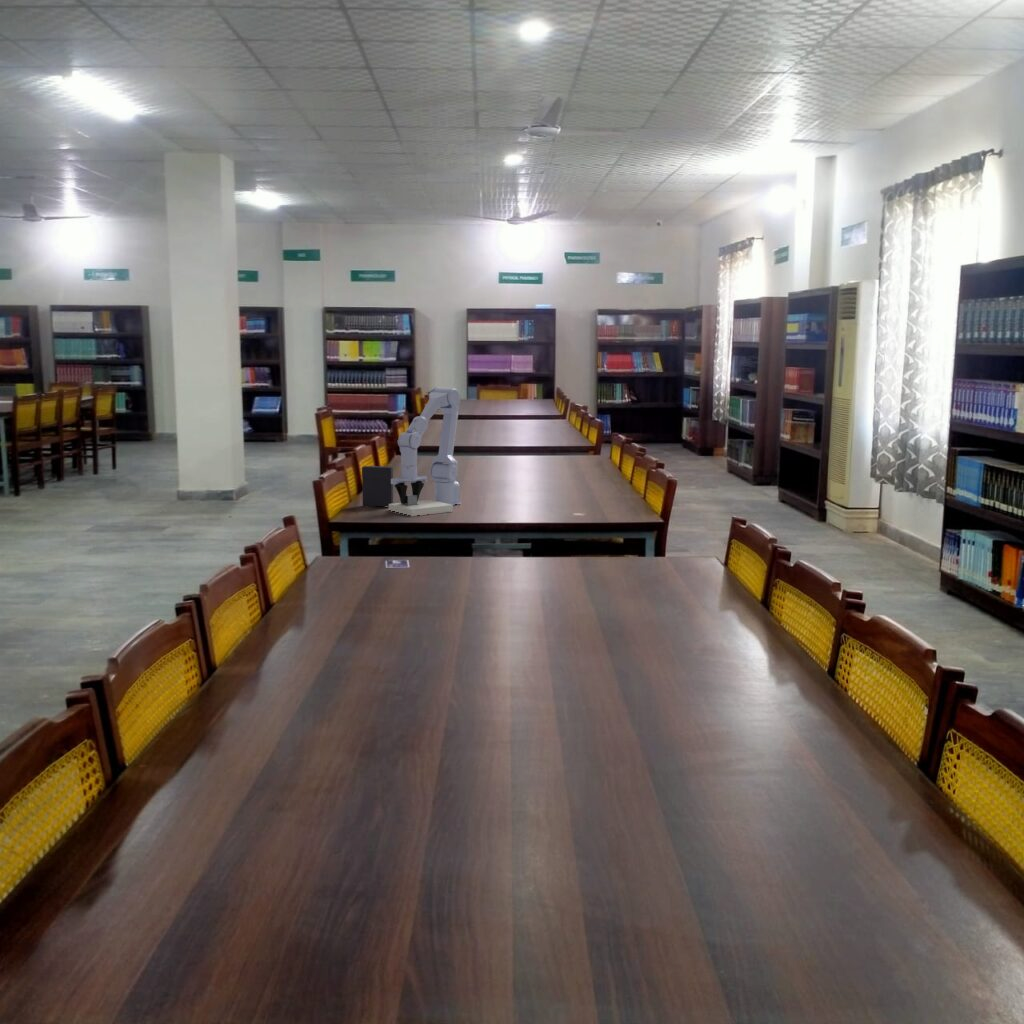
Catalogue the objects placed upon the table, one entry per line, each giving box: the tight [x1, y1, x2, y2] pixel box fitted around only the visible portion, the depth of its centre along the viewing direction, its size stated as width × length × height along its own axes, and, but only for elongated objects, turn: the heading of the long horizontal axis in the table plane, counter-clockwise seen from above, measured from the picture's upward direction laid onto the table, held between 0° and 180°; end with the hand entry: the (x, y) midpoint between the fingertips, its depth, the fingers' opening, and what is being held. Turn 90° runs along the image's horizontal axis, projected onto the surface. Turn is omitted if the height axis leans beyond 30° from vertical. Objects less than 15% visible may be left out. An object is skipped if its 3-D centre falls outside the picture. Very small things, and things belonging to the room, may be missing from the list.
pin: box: [402, 493, 417, 506], centre depth 352 cm, size 4×4×6 cm
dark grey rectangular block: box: [361, 465, 394, 508], centre depth 360 cm, size 11×4×15 cm, turn 84°
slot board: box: [388, 499, 454, 517], centre depth 352 cm, size 18×15×2 cm
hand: (409, 502), depth 352 cm, fingers open, 5 cm apart
